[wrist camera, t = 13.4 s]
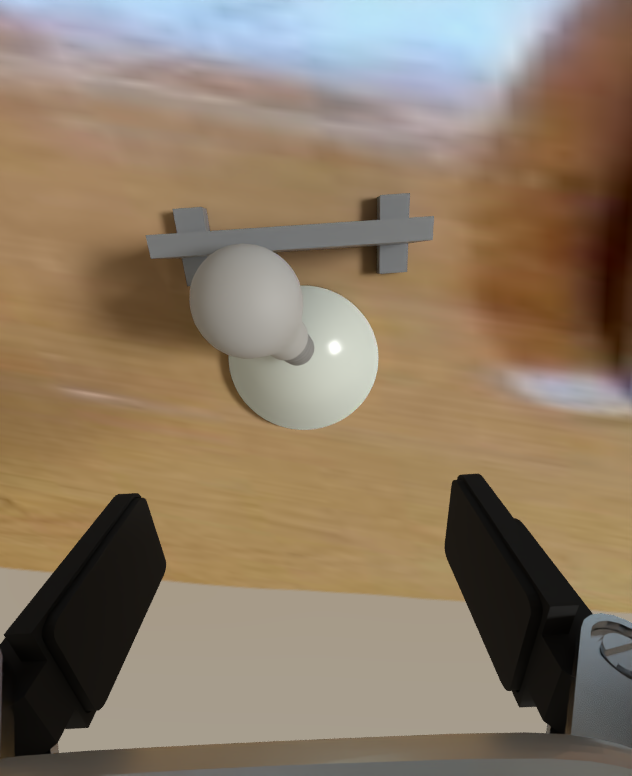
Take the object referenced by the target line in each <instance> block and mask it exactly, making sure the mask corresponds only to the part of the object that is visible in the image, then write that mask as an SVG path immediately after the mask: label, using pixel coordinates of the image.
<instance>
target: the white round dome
mask: <svg viewBox="0 0 632 776" xmlns="http://www.w3.org/2000/svg"><path fill="white" fill-rule="evenodd" d="M300 287H301V290H302V294H303V314H302V322H303V323H304V325H305V326H306V328H307V332H308V334H309V336H310V338H311V339H312V340H313V342H314V353H313V355H312V357H311V359H310V360H309V361H308V362H306V363H305V364H303V365H299V366H294V365H291V364H289V363H287V362H286V361H284V360H278V359H276V358H274V357H272V356H270V355H269V356H265V357H260V358H254V359H243V358H239V357H234V356H230V355H229V369H230V373H231V377H232V380H233V383H234V385H235V387H236V389H237V391H238V393H239V395H240V396H241V398H242V399H243V400H244V402H245V403H246V404H247V405H248V406H249V407H250V408H251V409H252V410H253V411H254V412H255V413H257V414H258V415H259V416H261V417H262V418H264V419H265V420H267V421H269V422H271V423H273V424H276V425H279V426H282V427H286V428H290V429H299V430H310V429H318V428H322V427H326V426H329V425H332V424H334V423H337V422H339V421H340V420H342V419H344V418H346V417H347V416H348V415H350V414H351V413H352V412H354V411H355V410H356V409H357V408H358V407H359V406H360V405H361V404H362V402H363V401H364V400H365V398H366V397H367V395H368V394H369V392H370V390H371V388H372V386H373V384H374V381H375V378H376V374H377V369H378V348H377V343H376V339H375V336H374V333H373V330H372V328H371V327H370V325H369V323H368V321H367V320H366V318H365V317H364V315H363V314H362V313H361V312H360V311H359V310H358V309H357V307H356V306H355V305H354V304H352V303H351V302H350V301H349V300H347V299H346V298H344V297H343V296H341V295H340V294H338V293H336V292H333V291H331V290H329V289H325V288H322V287H318V286H311V285H300Z"/></svg>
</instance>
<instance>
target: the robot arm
mask: <svg viewBox="0 0 632 776" xmlns="http://www.w3.org/2000/svg"><path fill="white" fill-rule="evenodd" d="M445 554H446V557H447V560H448V562H449V564H450V567H451V569H452V571H453V574H454V576H455V578H456V580H457V583H458V585H459V587H460V590H461V592H462V594H463V596H464V599H465V601H466V603H467V606H468V608H469V610H470V612H471V615H472V617H473V619H474V622H475V624H476V626H477V628H478V630H479V633H480V635H481V638H482V640H483V642H484V644H485V647H486V649H487V651H488V654H489V656H490V658H491V660H492V662H493V665H494V667H495V670H496V672H497V674H498V676H499V679H500V681H501V683H502V685H503V686H504V688H505V689H506V690H507V691H512V692H513V695H514V697H515V699H516V701H517V703H518V706H519V707H537V709H538V711H539V713H540V715H541V717H542V719H543V721H544V722H546V723H547V731H546V733H480V734H479V733H476V734H439V735H414V736H390V737H389V736H388V737H364V738H339V739H317V740H297V741H296V740H295V741H273V742H253V743H231V744H210V745H190V746H172V747H152V748H134V749H114V750H97V751H96V750H95V751H81V752H68V753H59V750H58V741H59V739H60V737H61V735H62V733H63V731H64V729H74V728H88V727H89V725H90V723H91V721H92V719H93V717H94V714H95V712H96V711H97V710H100V709H101V708H102V707H103V706H104V704H105V702H106V700H107V698H108V696H109V694H110V692H111V689H112V687H113V685H114V683H115V681H116V679H117V676H118V674H119V672H120V670H121V668H122V665H123V663H124V661H125V659H126V657H127V654H128V652H129V650H130V648H131V646H132V643H133V641H134V639H135V637H136V635H137V633H138V630H139V628H140V626H141V624H142V622H143V619H144V617H145V615H146V613H147V611H148V608H149V606H150V604H151V602H152V600H153V597H154V595H155V593H156V591H157V589H158V587H159V584H160V582H161V580H162V578H163V576H164V573H165V569H166V560H165V557H164V554H163V551H162V547H161V544H160V541H159V538H158V535H157V532H156V529H155V526H154V523H153V520H152V516H151V513H150V510H149V507H148V504H147V501H146V499H145V498H141V496H140V495H139V494H137V493H132V494H118V495H116V496H115V497H114V498H113V499H112V500H111V502H110V503H109V504H108V505H107V507H106V508H105V509H104V510H103V512H102V513H101V514H100V515H99V517H98V518H97V519H96V520H95V522H94V523H93V524H92V525H91V527H90V528H89V529H88V530H87V531H86V533H85V534H84V535H83V536H82V538H81V539H80V540H79V541H78V543H77V544H76V545H75V546H74V548H73V549H72V550H71V551H70V553H69V554H68V555H67V556H66V558H65V559H64V560H63V561H62V563H61V564H60V565H59V566H58V568H57V569H56V570H55V571H54V573H53V574H52V575H51V576H50V578H49V579H48V580H47V581H46V583H45V584H44V585H43V586H42V588H41V589H40V590H39V591H38V593H37V594H36V595H35V596H34V598H33V599H32V600H31V601H30V603H29V604H28V605H27V606H26V608H25V609H24V610H23V611H22V613H21V614H20V615H19V616H18V618H17V619H16V620H15V621H14V623H13V624H12V625H11V626H10V628H9V629H8V630H7V631H6V633H5V634H4V636H5V637H6V638H5V639H4V640H3V642H2V643H1V644H0V776H632V623H631V622H629V621H627V620H625V619H622V618H619V617H616V616H614V615H608V614H602V613H600V614H592V612H591V611H590V610H589V609H588V607H587V606H586V605H585V603H584V602H583V601H582V600H581V598H580V597H579V596H578V594H577V593H576V592H575V590H574V589H573V588H572V587H571V585H570V584H569V583H568V581H567V580H566V579H565V577H564V576H563V575H562V574H561V572H560V571H559V570H558V568H557V567H556V566H555V564H554V563H553V562H552V561H551V559H550V558H549V557H548V555H547V554H546V553H545V552H544V550H543V549H542V548H541V546H540V545H539V544H538V542H537V541H536V540H535V539H534V537H533V536H532V535H531V533H530V532H529V531H528V529H527V528H526V527H525V526H524V524H523V523H522V522H521V521H520V520H518V519H516V518H513V517H512V515H511V514H510V513H509V511H508V510H507V509H506V507H505V506H504V505H503V503H502V502H501V501H500V499H499V498H498V497H497V495H496V494H495V493H494V491H493V490H492V489H491V487H490V486H489V485H488V483H487V482H486V481H485V479H484V478H483V477H482V476H481V475H480V474H466V475H459V476H458V478H457V480H453V482H452V487H451V495H450V504H449V512H448V521H447V529H446V538H445Z"/></svg>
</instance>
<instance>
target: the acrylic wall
mask: <svg viewBox="0 0 632 776" xmlns="http://www.w3.org/2000/svg"><path fill="white" fill-rule="evenodd" d="M409 203H410V193H405V194H390V195H380V196H379V197H377V220H369V221H354V222H339V223H324V224H309V225H294V226H279V227H264V228H249V229H234V230H219V231H210V228H209V222H208V216H207V210H206V209H205V208H203V207H196V208H181V209H173V214H174V219H175V224H176V230H177V233H174V234H159V235H146V239H147V244H148V248H149V252H150V257H151V259H157V258H182V260H183V266H184V271H185V276H186V281H187V286H191V282H192V279H193V277H194V275H195V273H196V271H197V269H198V268H199V266H200V265H201V264H202V262H203V261H204V260H205V259H206V258H207V257H208V256H209V255H211V254H212V253H214V252H215V251H217V250H219V249H220V248H223V247H226V246H229V245H235V244H253V245H259V246H262V247H265V248H267V249H269V250H271V251H273V252H274V253H275V252H290V251H305V250H320V249H335V248H350V247H365V246H377V273H379V274H382V273H397V272H407V259H408V243H414V242H421V241H428V240H433V224H434V216H429V217H414V218H409Z"/></svg>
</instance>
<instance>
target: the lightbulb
mask: <svg viewBox="0 0 632 776" xmlns="http://www.w3.org/2000/svg"><path fill="white" fill-rule="evenodd" d="M189 302H190V309H191V313H192V317H193V320H194V323H195V325H196V326H197V328H198V330H199V331H200V333H201V334H202V336H203V337H204V338H205V339H206V340H207V341H208V342H209V343H210V344H211V345H212V346H213V347H214V348H216V349H218V350H219V351H221V352H223V353H225V354H227V355H230V356H234V357H239V358H243V359H254V358H260V357H265V356H269V355H270V356H272V357H274V358H276V359H278V360H284V361H286V362H287V363H289V364H291V365H294V366H299V365H303V364H305V363H306V362H308V361H309V360H310V359H311V357H312V355H313V353H314V342H313V340H312V339H311V338H310V336H309V334H308V332H307V328H306V326H305V325H304V323H303V322H302V314H303V294H302V290H301V287H300V284H299V280H298V278H297V276H296V274H295V273H294V271H293V270H292V268H291V267H290V265H289V264H288V263H287V262H286V261H285V260H284V259H283V258H281V257H280V256H279V255H277V254H276V253H274V252H273V251H271V250H269V249H267V248H265V247H262V246H259V245H253V244H235V245H229V246H226V247H223V248H220V249H219V250H217V251H215V252H214V253H212V254H211V255H209V256H208V257H207V258H206V259H205V260H204V261H203V262H202V264H201V265H200V266H199V268H198V269H197V271H196V273H195V275H194V277H193V279H192V282H191V287H190V301H189Z"/></svg>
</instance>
